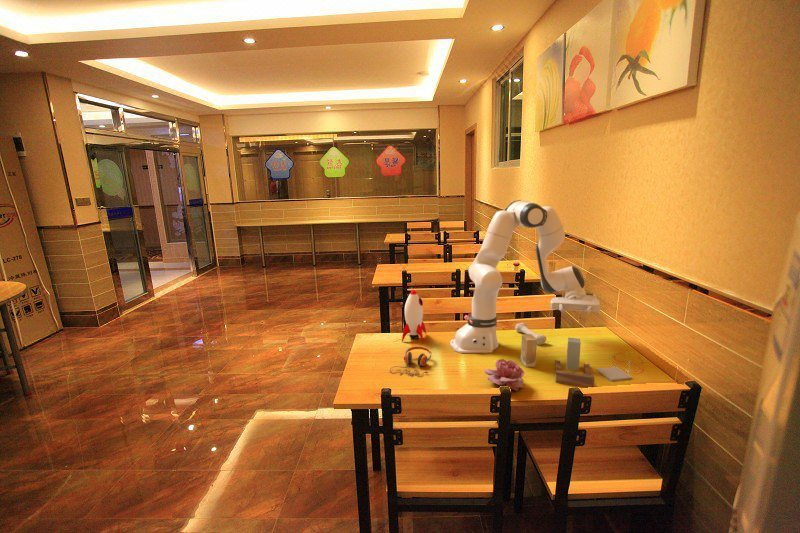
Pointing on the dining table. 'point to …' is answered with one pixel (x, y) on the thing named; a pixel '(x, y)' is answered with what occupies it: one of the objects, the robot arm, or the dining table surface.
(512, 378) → the flower
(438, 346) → the dining table surface
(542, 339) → the dog toy
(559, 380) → the channel
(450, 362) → the dining table surface
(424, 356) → the headphones
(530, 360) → the skincare box
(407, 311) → the rocket
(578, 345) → the block
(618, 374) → the coaster
